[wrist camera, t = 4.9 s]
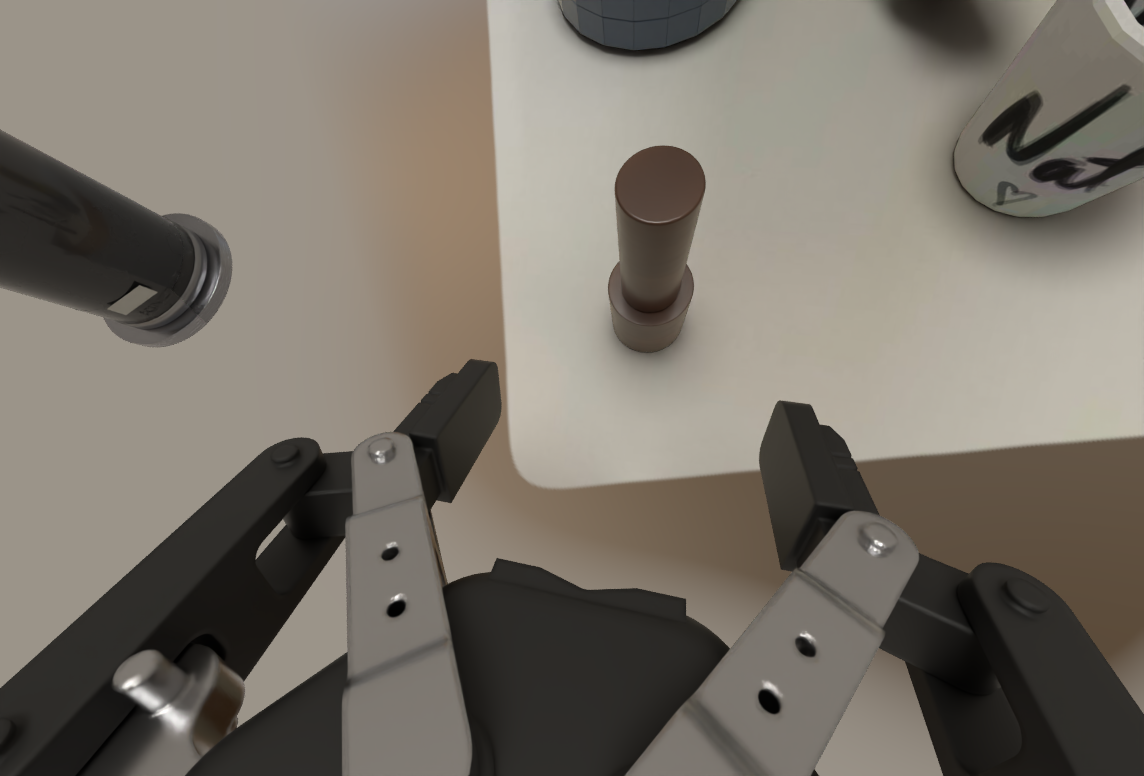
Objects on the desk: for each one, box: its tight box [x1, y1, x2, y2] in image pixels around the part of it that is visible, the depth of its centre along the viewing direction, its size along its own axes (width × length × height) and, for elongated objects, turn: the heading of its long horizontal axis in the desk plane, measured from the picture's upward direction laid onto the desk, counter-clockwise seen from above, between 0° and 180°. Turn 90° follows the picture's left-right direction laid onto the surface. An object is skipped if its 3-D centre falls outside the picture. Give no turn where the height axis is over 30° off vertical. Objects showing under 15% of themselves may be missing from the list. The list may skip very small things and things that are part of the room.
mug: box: [954, 0, 1144, 217], centre depth 20 cm, size 10×15×10 cm
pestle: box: [608, 146, 706, 352], centre depth 20 cm, size 4×4×13 cm
